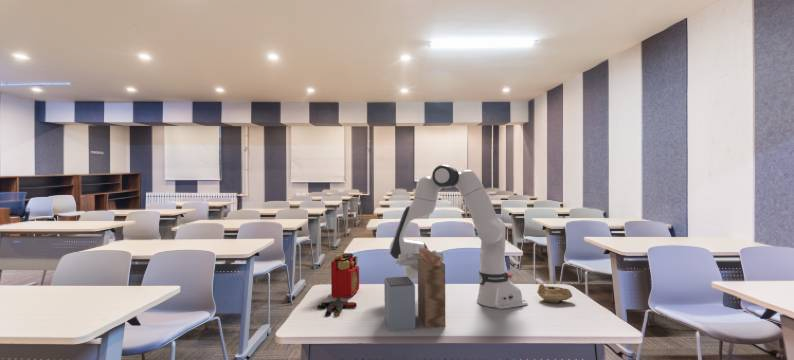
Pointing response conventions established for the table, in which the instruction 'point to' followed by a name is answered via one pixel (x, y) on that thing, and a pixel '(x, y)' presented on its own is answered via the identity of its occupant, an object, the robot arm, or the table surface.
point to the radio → (344, 276)
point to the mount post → (431, 294)
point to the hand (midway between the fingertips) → (424, 252)
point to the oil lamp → (553, 293)
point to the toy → (336, 306)
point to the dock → (399, 303)
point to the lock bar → (429, 256)
